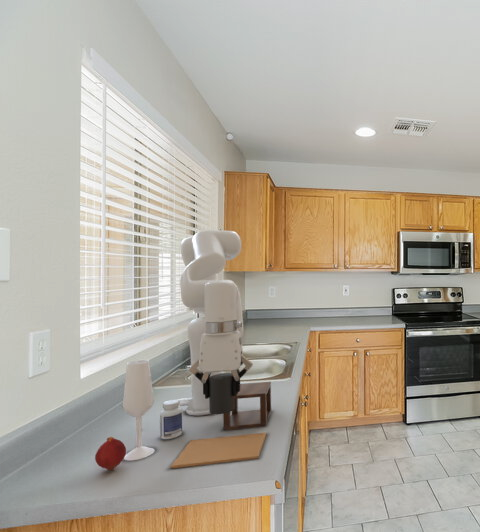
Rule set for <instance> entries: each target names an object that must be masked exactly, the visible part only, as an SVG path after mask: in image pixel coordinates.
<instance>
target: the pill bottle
mask: <svg viewBox="0 0 480 532" xmlns="http://www.w3.org/2000/svg"><path fill="white" fill-rule="evenodd" d="M159 416H160V417H159V426H160V427H159V430H160V438H161V439H162V440H171V439H175V438H177V437H179V436H181V435H182V434H183V408H182V407H181V406H180V405H179V399H169V400H166V401H164V402H163V403H162V410H161V411H160V413H159Z"/></svg>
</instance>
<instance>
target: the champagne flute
mask: <svg viewBox="0 0 480 532" xmlns="http://www.w3.org/2000/svg"><path fill="white" fill-rule="evenodd" d="M151 373H152V372H151V366H150V360H149V359H137V360H131V361H128V362H126V369H125V379H124V387H123V388H124V389H123V400H122V409H123V411H124V412H125V413H126V414H128V415H129V416H131V417H133V418H135V436H136V438H135V439H136V440H135V441H136V444H135V445H136V447H134V448H133V449H132V450H130V451H129V452H127V453H126V455H125V457H124V459H123V460H125V461H128V462H129V461H137V460H143V459H145V458H147V457H150V456H151V455H153V454H154V453H155V449H154V448H153V447H149V446H145V445H143V427H142V426H143V424H142V423H143V422H142V421H143V419H142V418H143V416H144V415H146V414H147V413H148V412H149V410H151V408H152V407H153V405H154V403H155V397H154V389H153V382H152V374H151Z"/></svg>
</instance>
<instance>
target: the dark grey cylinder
mask: <svg viewBox="0 0 480 532" xmlns="http://www.w3.org/2000/svg"><path fill="white" fill-rule="evenodd" d="M233 381H234V377H233V375H232V373H231V372H222V373H221V374H216V375H213V376H210V377H209V408H210V414H209V415H215V416H217V415H223V414H225V413H228V412H230V413H232V411H233V410H234V409H235V396H233Z"/></svg>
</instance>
